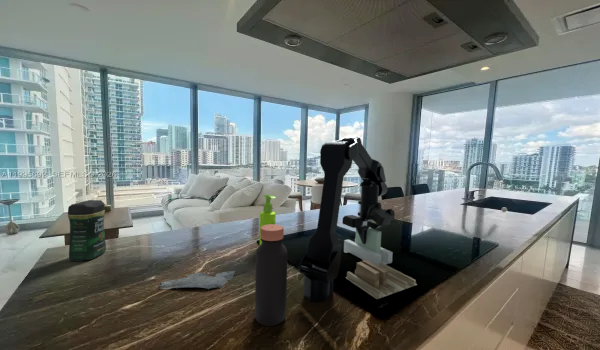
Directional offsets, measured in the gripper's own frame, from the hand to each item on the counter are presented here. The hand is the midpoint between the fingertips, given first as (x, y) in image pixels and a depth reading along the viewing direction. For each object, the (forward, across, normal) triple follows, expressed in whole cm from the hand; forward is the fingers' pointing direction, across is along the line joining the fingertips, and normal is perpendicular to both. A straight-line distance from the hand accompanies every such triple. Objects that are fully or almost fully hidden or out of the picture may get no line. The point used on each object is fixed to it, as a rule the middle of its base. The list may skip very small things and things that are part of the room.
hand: (367, 243), depth 87 cm
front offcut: (+4, -14, -15) cm, 21 cm away
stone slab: (+6, -54, +9) cm, 55 cm away
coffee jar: (+6, -84, +42) cm, 94 cm away
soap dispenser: (+6, -27, +25) cm, 37 cm away
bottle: (+6, -42, -14) cm, 45 cm away
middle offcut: (+4, -12, -15) cm, 20 cm away
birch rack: (+5, -9, -15) cm, 18 cm away
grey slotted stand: (+6, 0, 0) cm, 6 cm away
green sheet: (+4, 0, 0) cm, 5 cm away
